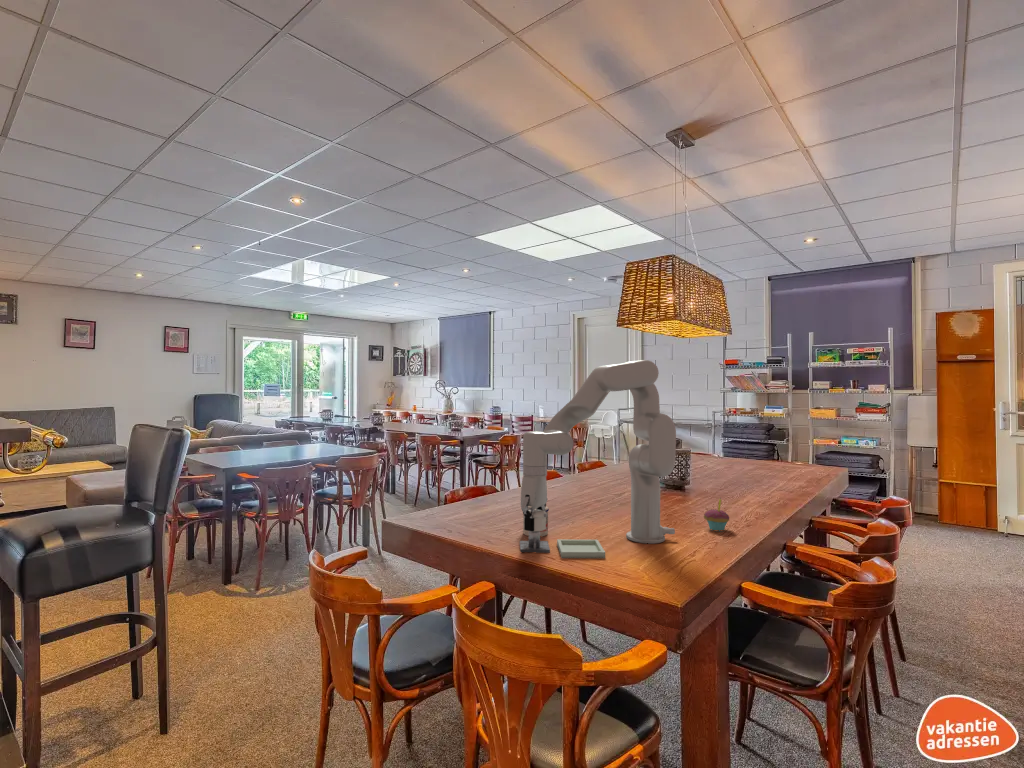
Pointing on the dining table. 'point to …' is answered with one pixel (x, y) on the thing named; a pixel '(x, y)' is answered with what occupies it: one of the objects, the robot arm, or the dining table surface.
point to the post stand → (534, 544)
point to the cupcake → (717, 518)
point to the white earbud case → (539, 520)
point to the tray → (580, 548)
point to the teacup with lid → (542, 533)
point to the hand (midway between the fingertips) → (534, 527)
